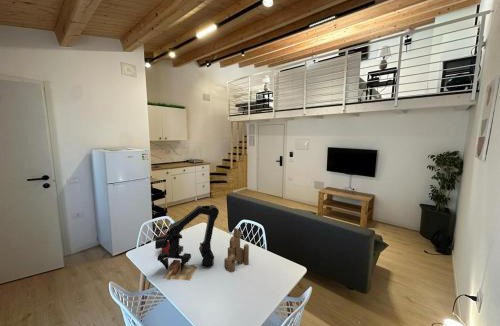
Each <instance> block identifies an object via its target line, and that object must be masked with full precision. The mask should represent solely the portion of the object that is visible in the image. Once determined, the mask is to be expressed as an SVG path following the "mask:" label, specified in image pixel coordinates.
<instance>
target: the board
mask: <svg viewBox="0 0 500 326" xmlns="http://www.w3.org/2000/svg"><path fill="white" fill-rule="evenodd" d="M197 269H198V264H195V263H186V264H185V265H184V268H183V271H181V262H180V270H179V271H178V273H177V274H176V275H170V278H169V276H168V273H169V270H167V273H165V275H164V276H163V278H162V279H165V280H166V279H167V280H177V281H178V280H180V281H191V279H192V278H193V276H194V274H195V272H196V271H197Z"/></svg>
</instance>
